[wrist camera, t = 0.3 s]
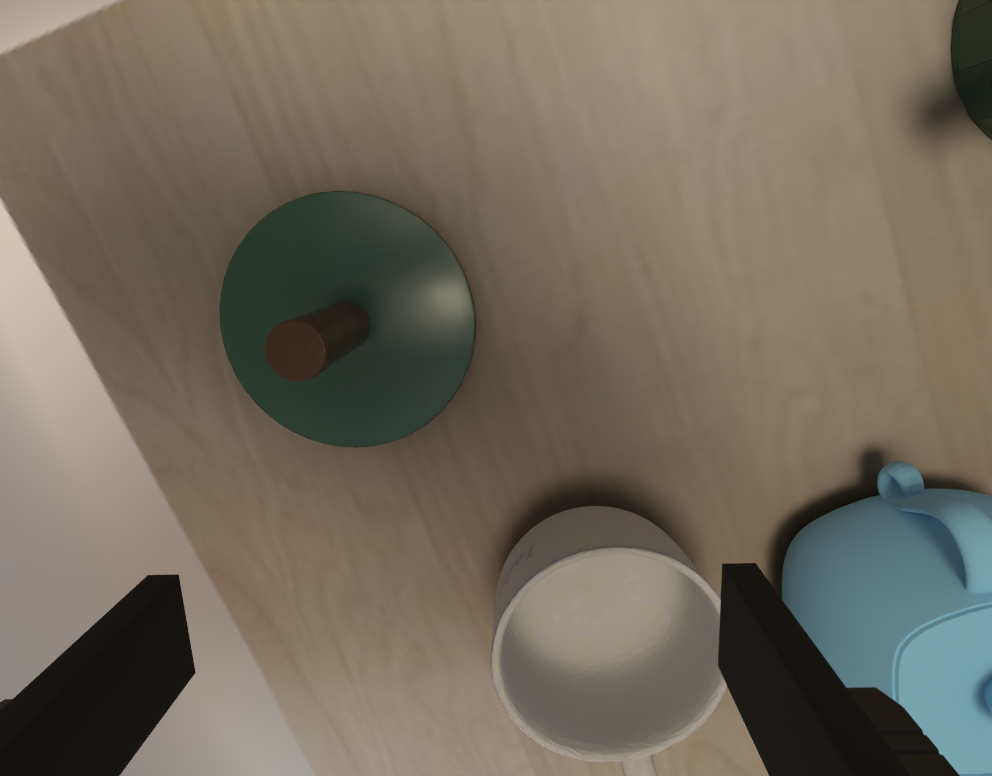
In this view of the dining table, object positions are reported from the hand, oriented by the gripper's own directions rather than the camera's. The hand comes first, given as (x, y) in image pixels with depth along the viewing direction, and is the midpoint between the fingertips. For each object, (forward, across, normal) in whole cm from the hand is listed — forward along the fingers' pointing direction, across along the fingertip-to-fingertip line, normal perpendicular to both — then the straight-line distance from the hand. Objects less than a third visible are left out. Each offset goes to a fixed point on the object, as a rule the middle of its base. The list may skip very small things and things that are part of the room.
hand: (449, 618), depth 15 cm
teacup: (+19, +6, -11) cm, 23 cm away
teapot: (+19, +22, -11) cm, 31 cm away
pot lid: (+18, -7, +5) cm, 20 cm away
